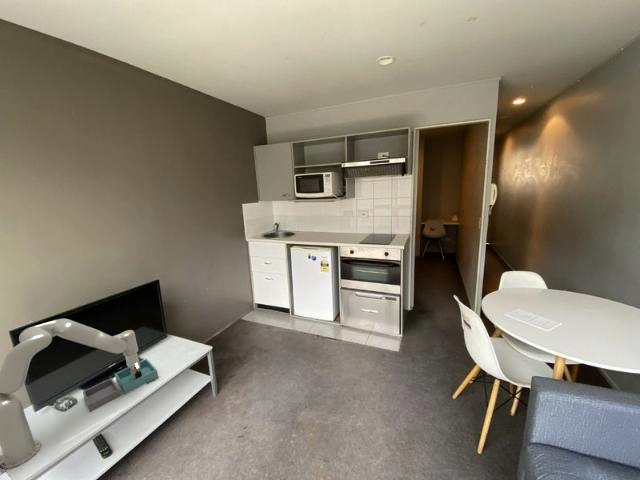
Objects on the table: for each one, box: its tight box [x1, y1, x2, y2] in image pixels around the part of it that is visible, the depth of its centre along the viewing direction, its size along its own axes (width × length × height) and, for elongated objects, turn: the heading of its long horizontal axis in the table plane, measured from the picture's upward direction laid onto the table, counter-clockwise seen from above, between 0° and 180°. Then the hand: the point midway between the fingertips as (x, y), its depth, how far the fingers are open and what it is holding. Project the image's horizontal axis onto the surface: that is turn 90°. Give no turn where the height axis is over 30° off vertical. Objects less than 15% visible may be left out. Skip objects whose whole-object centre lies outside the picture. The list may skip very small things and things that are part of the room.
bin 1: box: [82, 377, 121, 412], centre depth 159 cm, size 14×16×5 cm
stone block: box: [130, 369, 142, 381], centre depth 171 cm, size 4×4×6 cm
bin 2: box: [114, 358, 159, 395], centre depth 172 cm, size 18×18×6 cm
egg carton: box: [52, 394, 78, 412], centre depth 154 cm, size 11×8×4 cm
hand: (136, 374), depth 171 cm, fingers open, 9 cm apart
